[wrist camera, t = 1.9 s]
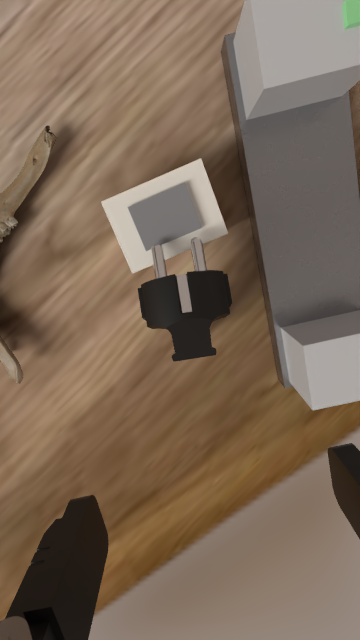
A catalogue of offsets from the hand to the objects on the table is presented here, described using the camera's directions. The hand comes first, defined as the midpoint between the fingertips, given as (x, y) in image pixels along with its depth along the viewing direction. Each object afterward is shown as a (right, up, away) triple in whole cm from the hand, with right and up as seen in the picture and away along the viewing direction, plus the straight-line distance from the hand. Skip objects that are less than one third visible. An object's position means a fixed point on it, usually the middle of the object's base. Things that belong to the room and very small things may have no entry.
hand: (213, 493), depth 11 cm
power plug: (0, +7, +19) cm, 20 cm away
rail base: (+9, +14, +16) cm, 23 cm away
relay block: (-2, +14, +17) cm, 22 cm away
